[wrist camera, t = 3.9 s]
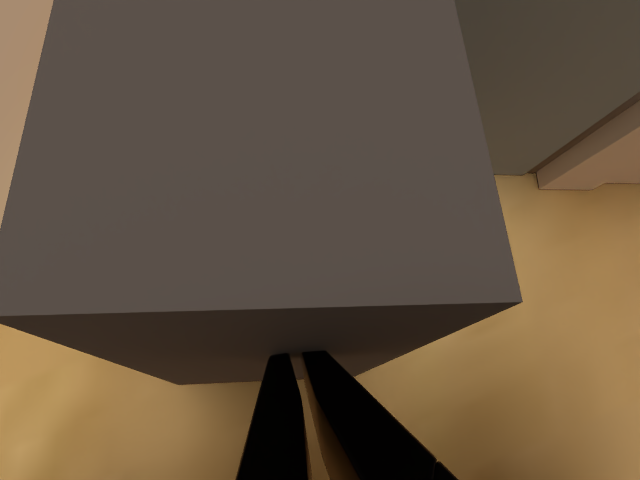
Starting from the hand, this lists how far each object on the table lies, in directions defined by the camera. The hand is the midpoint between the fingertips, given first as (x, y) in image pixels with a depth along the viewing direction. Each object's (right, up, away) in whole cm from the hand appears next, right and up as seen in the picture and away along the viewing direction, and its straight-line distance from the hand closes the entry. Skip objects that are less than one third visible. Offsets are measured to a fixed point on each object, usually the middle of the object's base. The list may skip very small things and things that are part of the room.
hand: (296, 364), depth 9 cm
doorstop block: (-1, +1, +7) cm, 7 cm away
